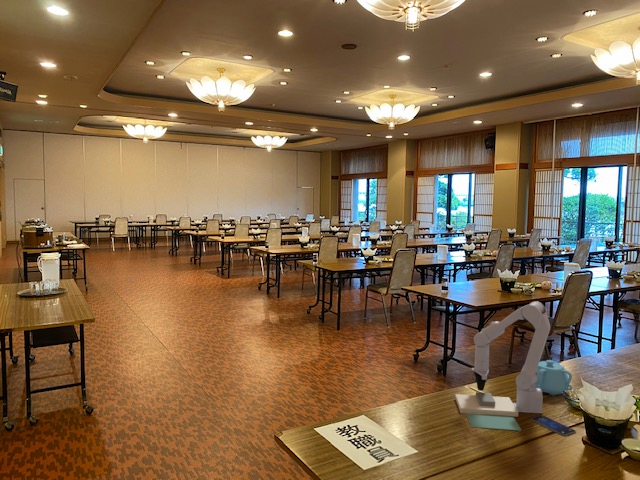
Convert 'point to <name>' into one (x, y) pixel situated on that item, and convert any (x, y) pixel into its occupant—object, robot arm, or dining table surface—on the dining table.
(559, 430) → the smartphone
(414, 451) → the dining table surface
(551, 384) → the decorative pot
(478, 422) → the mat
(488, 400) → the grey bevelled tile
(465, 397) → the white flat board
